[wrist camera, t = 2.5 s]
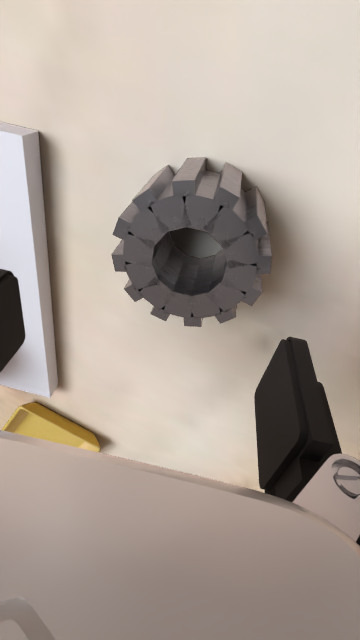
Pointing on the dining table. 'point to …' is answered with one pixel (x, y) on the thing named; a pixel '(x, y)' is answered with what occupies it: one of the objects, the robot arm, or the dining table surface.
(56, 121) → the dining table surface
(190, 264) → the loose gear
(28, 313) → the gear board
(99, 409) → the dining table surface
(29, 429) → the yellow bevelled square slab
